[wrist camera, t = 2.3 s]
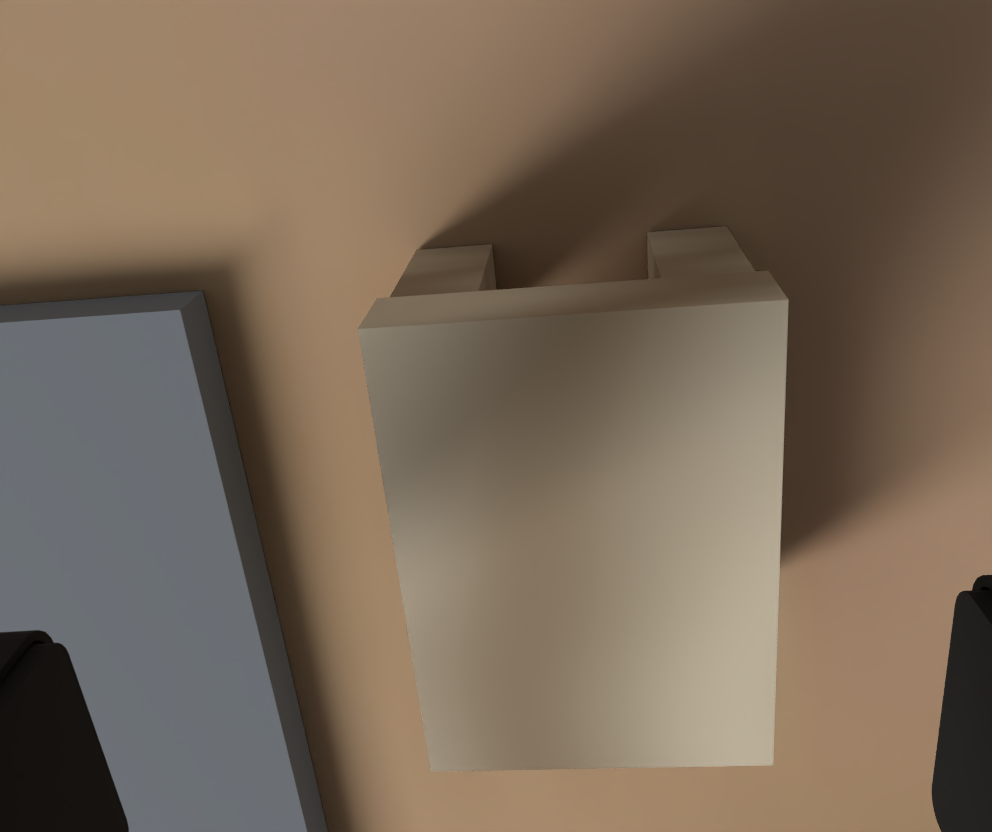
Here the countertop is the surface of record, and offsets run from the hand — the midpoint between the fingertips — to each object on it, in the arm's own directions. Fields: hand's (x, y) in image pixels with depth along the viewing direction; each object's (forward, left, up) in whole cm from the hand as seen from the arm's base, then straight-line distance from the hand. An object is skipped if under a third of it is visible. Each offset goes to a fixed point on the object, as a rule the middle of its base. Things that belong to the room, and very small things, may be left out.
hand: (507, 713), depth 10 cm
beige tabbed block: (-1, 0, -7) cm, 7 cm away
